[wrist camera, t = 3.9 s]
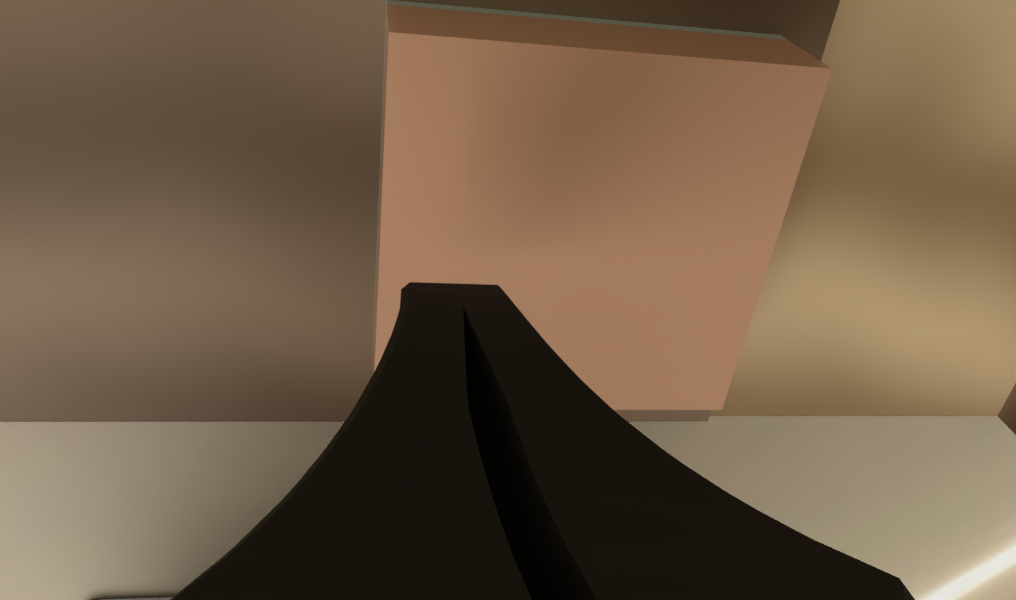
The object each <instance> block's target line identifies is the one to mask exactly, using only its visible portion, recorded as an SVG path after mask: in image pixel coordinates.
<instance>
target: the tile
mask: <svg viewBox="0 0 1016 600" xmlns="http://www.w3.org/2000/svg"><path fill="white" fill-rule="evenodd" d="M831 71H832V68H831V67H829V66H827V65H826V64H824V63H823V62H821V61H820V60H818V59H817V58H815V57H814V56H812V55H811V54H809V53H807V52H806V51H804V50H803V49H801V48H800V47H798V46H797V45H795V44H794V43H792V42H791V41H789V40H787V39H786V38H784V37H783V36H781V35H774V34H763V33H752V32H741V31H730V30H719V29H707V28H696V27H685V26H674V25H663V24H652V23H640V22H629V21H618V20H607V19H596V18H585V17H573V16H562V15H551V14H540V13H529V12H518V11H506V10H495V9H484V8H473V7H462V6H451V5H439V4H428V3H417V2H406V1H395V0H386V23H385V48H384V73H383V99H382V124H381V149H380V175H379V200H378V225H377V250H376V276H375V301H374V326H373V373H374V372H375V370H376V368H377V366H378V364H379V362H380V359H381V357H382V355H383V353H384V350H385V348H386V346H387V343H388V341H389V339H390V337H391V334H392V332H393V329H394V326H395V323H396V320H397V317H398V313H399V309H400V299H401V289H402V288H403V287H405V286H406V285H407V284H408V283H410V282H420V283H454V284H489V285H499V286H500V287H501V289H502V290H503V291H504V292H505V293H506V294H507V296H508V297H509V298H510V299H511V300H512V302H513V303H514V304H515V305H516V307H517V308H518V309H519V310H520V311H521V313H522V314H523V315H524V316H525V318H526V319H527V320H528V321H529V322H530V324H531V325H532V326H533V327H534V328H535V330H536V331H537V332H538V333H539V334H540V335H541V337H542V338H543V339H544V340H545V341H546V342H547V344H548V345H549V346H550V347H551V348H552V349H553V350H554V351H555V352H556V354H557V355H558V356H559V357H560V358H561V359H562V360H563V361H564V362H565V363H566V364H567V365H568V366H569V368H570V369H571V370H572V371H573V372H574V373H575V374H576V375H577V376H578V377H579V378H580V379H581V380H582V381H583V382H584V383H585V384H586V385H587V386H588V387H589V388H590V389H592V390H593V391H594V392H595V393H596V394H597V395H598V396H599V397H600V398H601V399H602V400H603V401H604V402H605V403H606V404H608V405H609V406H610V407H611V408H612V409H613V410H722V408H723V405H724V402H725V399H726V396H727V393H728V390H729V386H730V383H731V380H732V377H733V374H734V371H735V368H736V365H737V362H738V359H739V356H740V352H741V349H742V346H743V343H744V340H745V337H746V334H747V331H748V328H749V325H750V322H751V319H752V315H753V312H754V309H755V306H756V303H757V300H758V297H759V294H760V291H761V288H762V285H763V281H764V278H765V275H766V272H767V269H768V266H769V263H770V260H771V257H772V254H773V251H774V247H775V244H776V241H777V238H778V235H779V232H780V229H781V226H782V223H783V220H784V217H785V213H786V210H787V207H788V204H789V201H790V198H791V195H792V192H793V189H794V186H795V183H796V180H797V176H798V173H799V170H800V167H801V164H802V161H803V158H804V155H805V152H806V149H807V146H808V142H809V139H810V136H811V133H812V130H813V127H814V124H815V121H816V118H817V115H818V112H819V108H820V105H821V102H822V99H823V96H824V93H825V90H826V87H827V84H828V81H829V78H830V74H831Z"/></svg>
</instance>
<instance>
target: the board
mask: <svg viewBox="0 0 1016 600" xmlns="http://www.w3.org/2000/svg"><path fill="white" fill-rule="evenodd" d="M395 1H406V2H417V3H428V4H439V5H451V6H462V7H473V8H484V9H495V10H506V11H518V12H529V13H540V14H551V15H562V16H573V17H585V18H596V19H607V20H618V21H629V22H640V23H652V24H663V25H674V26H685V27H696V28H707V29H719V30H730V31H741V32H752V33H763V34H774V35H781V36H783V37H784V38H786V39H787V40H789V41H791V42H792V43H794V44H795V45H797V46H798V47H800V48H801V49H803V50H804V51H806V52H807V53H809V54H811V55H812V56H814V57H815V58H817V59H818V60H820V61H821V62H823V63H824V64H826V65H827V66H829V67H831V68H832V71H831V74H830V78H829V81H828V84H827V87H826V90H825V93H824V96H823V99H822V102H821V105H820V108H819V112H818V115H817V118H816V121H815V124H814V127H813V130H812V133H811V136H810V139H809V142H808V146H807V149H806V152H805V155H804V158H803V161H802V164H801V167H800V170H799V173H798V176H797V180H796V183H795V186H794V189H793V192H792V195H791V198H790V201H789V204H788V207H787V210H786V213H785V217H784V220H783V223H782V226H781V229H780V232H779V235H778V238H777V241H776V244H775V247H774V251H773V254H772V257H771V260H770V263H769V266H768V269H767V272H766V275H765V278H764V281H763V285H762V288H761V291H760V294H759V297H758V300H757V303H756V306H755V309H754V312H753V315H752V319H751V322H750V325H749V328H748V331H747V334H746V337H745V340H744V343H743V346H742V349H741V352H740V356H739V359H738V362H737V365H736V368H735V371H734V374H733V377H732V380H731V383H730V386H729V390H728V393H727V396H726V399H725V402H724V405H723V408H722V410H614V411H615V412H617V413H618V414H619V415H620V416H621V417H622V418H624V419H625V420H626V421H708V418H709V416H998V417H999V418H1000V419H1001V420H1002V421H1003V422H1004V423H1005V424H1006V425H1007V426H1008V427H1009V428H1010V429H1011V430H1012V431H1013V432H1014V433H1015V434H1016V0H395ZM385 23H386V0H0V422H210V421H346V419H347V418H348V416H349V415H350V413H351V412H352V410H353V408H354V407H355V405H356V404H357V402H358V400H359V398H360V397H361V395H362V393H363V391H364V389H365V388H366V386H367V384H368V382H369V381H370V379H371V377H372V375H373V326H374V301H375V276H376V250H377V225H378V200H379V175H380V149H381V124H382V99H383V73H384V48H385Z"/></svg>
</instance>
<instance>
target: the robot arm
mask: <svg viewBox="0 0 1016 600" xmlns="http://www.w3.org/2000/svg"><path fill="white" fill-rule="evenodd" d="M100 600H915V599H914V598H913V596H912V595H911V594H910V592H909V591H908V590H907V588H906V587H905V586H904V584H903V583H902V582H901V580H900V578H897V577H895V576H893V575H891V574H888V573H886V572H884V571H882V570H880V569H877V568H875V567H873V566H871V565H868V564H866V563H864V562H862V561H860V560H857V559H855V558H853V557H851V556H848V555H846V554H844V553H842V552H840V551H837V550H835V549H833V548H831V547H828V546H826V545H824V544H822V543H820V542H817V541H815V540H813V539H811V538H809V537H807V536H805V535H803V534H801V533H799V532H797V531H795V530H794V529H792V528H790V527H788V526H786V525H784V524H782V523H780V522H779V521H777V520H775V519H773V518H771V517H769V516H767V515H765V514H764V513H762V512H760V511H758V510H756V509H754V508H753V507H751V506H749V505H748V504H746V503H744V502H742V501H741V500H739V499H737V498H736V497H734V496H732V495H730V494H729V493H727V492H725V491H724V490H722V489H721V488H719V487H718V486H716V485H715V484H713V483H711V482H710V481H708V480H707V479H705V478H704V477H702V476H701V475H699V474H698V473H696V472H695V471H693V470H691V469H690V468H688V467H687V466H685V465H684V464H682V463H681V462H680V461H678V460H677V459H675V458H674V457H673V456H671V455H670V454H668V453H667V452H666V451H664V450H663V449H661V448H660V447H659V446H658V445H656V444H655V443H654V442H652V441H651V440H650V439H649V438H647V437H646V436H645V435H644V434H642V433H641V432H640V431H638V430H637V429H636V428H635V427H633V426H632V425H631V424H630V423H628V422H627V421H626V420H625V419H624V418H622V417H621V416H620V415H619V414H618V413H617V412H615V411H614V410H613V409H612V408H611V407H610V406H609V405H608V404H606V403H605V402H604V401H603V400H602V399H601V398H600V397H599V396H598V395H597V394H596V393H595V392H594V391H593V390H592V389H590V388H589V387H588V386H587V385H586V384H585V383H584V382H583V381H582V380H581V379H580V378H579V377H578V376H577V375H576V374H575V373H574V372H573V371H572V370H571V369H570V368H569V366H568V365H567V364H566V363H565V362H564V361H563V360H562V359H561V358H560V357H559V356H558V355H557V354H556V352H555V351H554V350H553V349H552V348H551V347H550V346H549V345H548V344H547V342H546V341H545V340H544V339H543V338H542V337H541V335H540V334H539V333H538V332H537V331H536V330H535V328H534V327H533V326H532V325H531V324H530V322H529V321H528V320H527V319H526V318H525V316H524V315H523V314H522V313H521V311H520V310H519V309H518V308H517V307H516V305H515V304H514V303H513V302H512V300H511V299H510V298H509V297H508V296H507V294H506V293H505V292H504V291H503V290H502V289H501V287H500V286H499V285H489V284H454V283H420V282H410V283H408V284H407V285H406V286H405V287H403V288H402V289H401V299H400V309H399V313H398V317H397V320H396V323H395V326H394V329H393V332H392V334H391V337H390V339H389V341H388V343H387V346H386V348H385V350H384V353H383V355H382V357H381V359H380V362H379V364H378V366H377V368H376V370H375V372H374V373H373V375H372V377H371V379H370V381H369V382H368V384H367V386H366V388H365V389H364V391H363V393H362V395H361V397H360V398H359V400H358V402H357V404H356V405H355V407H354V408H353V410H352V412H351V413H350V415H349V416H348V418H347V419H346V421H345V422H344V424H343V425H342V427H341V428H340V430H339V431H338V432H337V434H336V435H335V437H334V438H333V439H332V441H331V442H330V443H329V445H328V446H327V447H326V449H325V450H324V451H323V453H322V454H321V455H320V456H319V458H318V459H317V460H316V461H315V462H314V464H313V465H312V466H311V467H310V469H309V470H308V471H307V472H306V473H305V475H304V476H303V477H302V478H301V479H300V481H299V482H298V483H297V484H296V485H295V486H294V488H293V489H292V490H291V491H290V492H289V493H288V494H287V495H286V496H285V497H284V498H283V500H282V501H281V502H280V503H279V504H278V505H277V506H276V507H275V508H274V509H273V510H272V511H271V512H270V513H269V514H268V515H267V516H265V517H264V518H263V519H262V520H261V521H260V522H259V523H258V524H257V525H256V526H255V527H254V528H253V529H252V530H251V531H250V532H249V533H248V534H247V535H246V536H245V537H244V538H243V539H242V540H241V541H240V542H239V543H238V544H237V545H236V546H235V547H233V548H232V549H231V550H230V551H229V552H228V553H227V554H226V555H224V556H223V557H222V558H221V559H220V560H219V561H217V562H216V563H215V564H214V565H212V566H211V567H210V568H209V569H208V570H206V571H205V572H204V573H203V574H201V575H200V576H199V577H198V578H196V579H195V580H194V581H193V582H191V583H190V584H189V585H188V586H186V587H185V588H184V589H183V590H181V591H180V592H179V593H178V594H176V595H175V596H174V597H153V598H126V599H100Z"/></svg>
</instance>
